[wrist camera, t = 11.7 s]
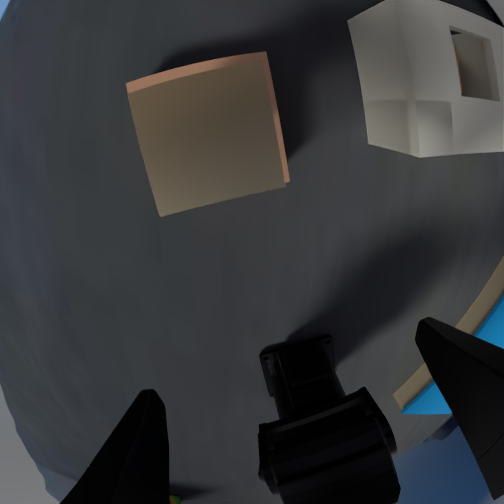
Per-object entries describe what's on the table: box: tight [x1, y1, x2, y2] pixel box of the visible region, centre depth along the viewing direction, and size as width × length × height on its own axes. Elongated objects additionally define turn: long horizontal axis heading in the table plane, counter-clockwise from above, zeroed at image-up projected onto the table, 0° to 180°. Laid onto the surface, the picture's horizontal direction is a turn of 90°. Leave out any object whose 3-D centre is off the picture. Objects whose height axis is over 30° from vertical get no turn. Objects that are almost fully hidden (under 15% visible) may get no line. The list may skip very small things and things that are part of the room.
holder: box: [126, 51, 290, 212], centre depth 15 cm, size 7×7×3 cm
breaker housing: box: [347, 0, 504, 158], centre depth 13 cm, size 9×12×6 cm
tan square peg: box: [128, 61, 286, 217], centre depth 11 cm, size 3×3×12 cm
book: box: [393, 256, 504, 414], centre depth 29 cm, size 17×4×25 cm
